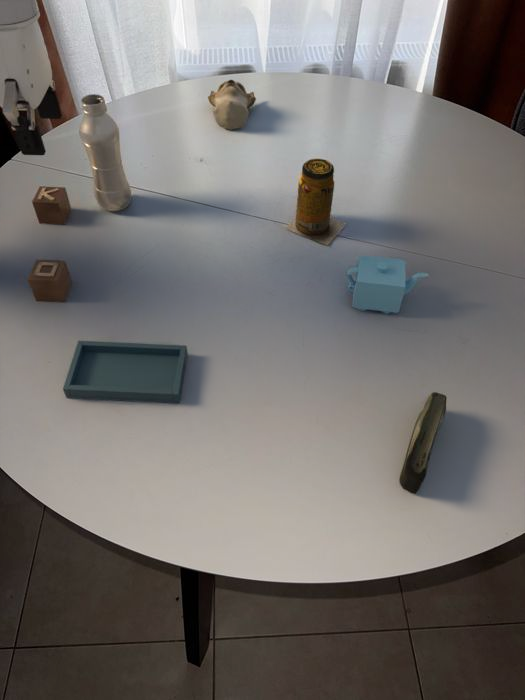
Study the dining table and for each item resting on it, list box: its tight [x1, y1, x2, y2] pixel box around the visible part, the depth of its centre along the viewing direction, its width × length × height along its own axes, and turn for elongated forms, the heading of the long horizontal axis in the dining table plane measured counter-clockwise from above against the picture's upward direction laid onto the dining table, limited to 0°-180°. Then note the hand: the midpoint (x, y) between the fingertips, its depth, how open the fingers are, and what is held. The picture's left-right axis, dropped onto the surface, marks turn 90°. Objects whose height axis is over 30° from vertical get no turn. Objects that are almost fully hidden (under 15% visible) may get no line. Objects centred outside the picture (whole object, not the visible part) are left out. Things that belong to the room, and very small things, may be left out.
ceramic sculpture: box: [207, 79, 257, 131], centre depth 125 cm, size 11×9×15 cm
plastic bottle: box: [78, 93, 132, 212], centre depth 99 cm, size 6×7×20 cm
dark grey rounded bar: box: [399, 391, 447, 494], centre depth 74 cm, size 5×3×15 cm
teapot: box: [346, 254, 429, 315], centre depth 89 cm, size 12×6×8 cm, turn 82°
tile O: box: [27, 258, 73, 303], centre depth 90 cm, size 5×5×5 cm
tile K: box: [31, 185, 72, 225], centre depth 103 cm, size 5×5×5 cm
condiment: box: [285, 158, 347, 246], centre depth 99 cm, size 7×8×12 cm
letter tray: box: [62, 340, 189, 404], centre depth 81 cm, size 16×9×2 cm, turn 88°
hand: (43, 135), depth 83 cm, fingers open, 9 cm apart
